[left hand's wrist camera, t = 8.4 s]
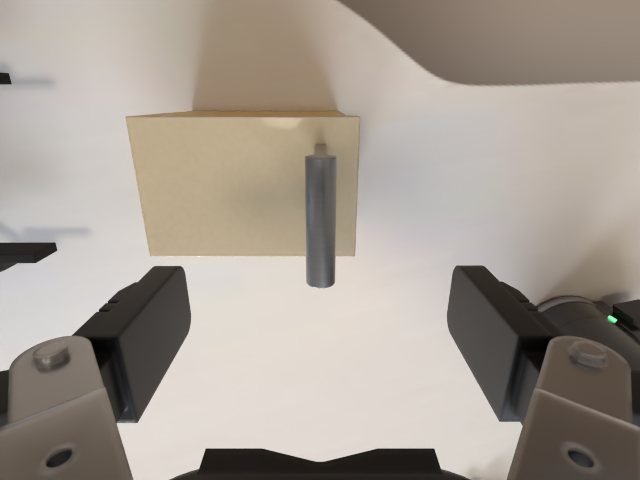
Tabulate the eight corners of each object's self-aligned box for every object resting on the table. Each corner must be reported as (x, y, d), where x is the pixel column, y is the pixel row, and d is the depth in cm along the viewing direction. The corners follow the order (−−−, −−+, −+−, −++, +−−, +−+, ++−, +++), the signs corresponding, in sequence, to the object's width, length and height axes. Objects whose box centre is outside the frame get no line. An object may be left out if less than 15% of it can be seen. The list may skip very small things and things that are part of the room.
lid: (358, 115, 23) (378, 124, 15) (353, 250, 26) (368, 314, 18) (134, 115, 23) (38, 123, 15) (157, 250, 26) (87, 314, 18)
